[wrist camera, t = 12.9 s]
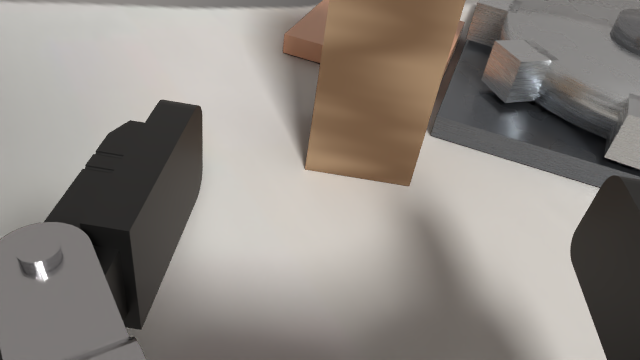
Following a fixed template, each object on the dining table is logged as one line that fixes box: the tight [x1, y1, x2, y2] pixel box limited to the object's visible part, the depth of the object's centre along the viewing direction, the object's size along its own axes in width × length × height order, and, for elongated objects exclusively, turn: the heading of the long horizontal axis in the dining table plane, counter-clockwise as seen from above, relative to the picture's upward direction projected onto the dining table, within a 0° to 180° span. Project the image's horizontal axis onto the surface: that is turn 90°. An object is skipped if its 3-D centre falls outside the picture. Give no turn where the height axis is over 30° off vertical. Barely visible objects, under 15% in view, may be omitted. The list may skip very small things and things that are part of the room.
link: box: [305, 0, 465, 186], centre depth 19 cm, size 4×4×10 cm
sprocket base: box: [431, 39, 640, 188], centre depth 28 cm, size 17×17×1 cm
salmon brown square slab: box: [283, 0, 465, 81], centre depth 30 cm, size 8×8×1 cm
